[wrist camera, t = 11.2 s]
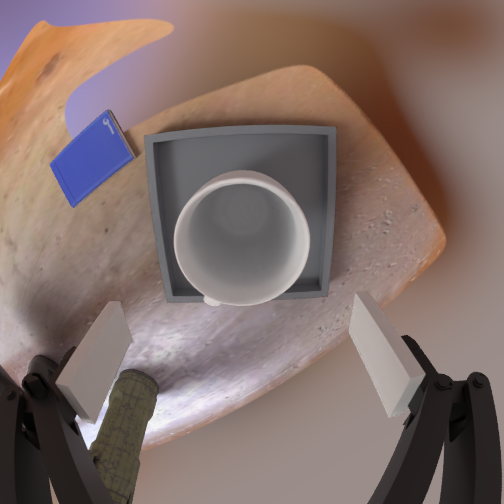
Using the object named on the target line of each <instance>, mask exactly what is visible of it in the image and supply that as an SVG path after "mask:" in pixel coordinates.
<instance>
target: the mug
mask: <svg viewBox="0 0 504 504" xmlns="http://www.w3.org/2000/svg"><path fill="white" fill-rule="evenodd" d="M309 249H310V232H309V227H308V223H307V220H306V218H305V215H304V213H303V211H302V210H301V208H300V206H299V205H298V204H297V202H296V201H295V199H294V198H293V197H292V195H291V194H290V193H289V192H288V191H287V189H285V188H284V187H283V186H282V185H281V184H280V183H279V182H277V181H276V180H274V179H272V178H271V177H269V176H267V175H265V174H262V173H260V172H256V171H251V170H248V171H247V170H238V171H230V172H228V173H223V174H222V175H219V176H217V177H215V178H213V179H212V180H210V181H208V182H207V183H206V184H205V185H203V186H202V187H201V188H200V189H199V190H198V191H197V192H196V193H195V194H194V195H193V197H192V198H191V199H190V200H189V201H188V202H187V203H186V205H185V206H184V208H183V209H182V211H181V213H180V215H179V217H178V220H177V223H176V227H175V232H174V250H175V255H176V259H177V262H178V264H179V266H180V269H181V271H182V272H183V274H184V275H185V277H186V278H187V280H188V281H189V282H190V283H191V284H192V285H193V286H194V287H195V288H196V289H197V290H198V291H199V292H201V293H202V294H203V295H204V298H203V300H204V302H205V303H207V304H209V305H211V306H219V305H220V304H222V303H223V304H228V305H235V306H250V305H256V304H260V303H264V302H267V301H269V300H272V299H274V298H276V297H277V296H279V295H281V294H282V293H283V292H285V291H286V290H287V289H288V288H290V287H291V286H292V285H293V284H294V282H295V281H296V280H297V279H298V277H299V276H300V274H301V273H302V271H303V269H304V267H305V264H306V262H307V259H308V254H309Z"/></svg>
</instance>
